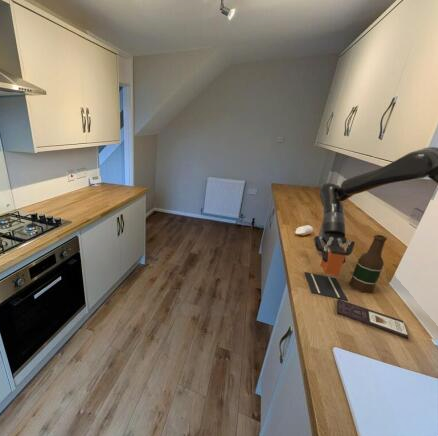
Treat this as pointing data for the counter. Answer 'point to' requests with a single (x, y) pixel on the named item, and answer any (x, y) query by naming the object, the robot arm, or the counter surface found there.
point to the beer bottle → (369, 267)
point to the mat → (325, 286)
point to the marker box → (334, 260)
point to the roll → (304, 230)
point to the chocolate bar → (372, 318)
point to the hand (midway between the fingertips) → (333, 262)
